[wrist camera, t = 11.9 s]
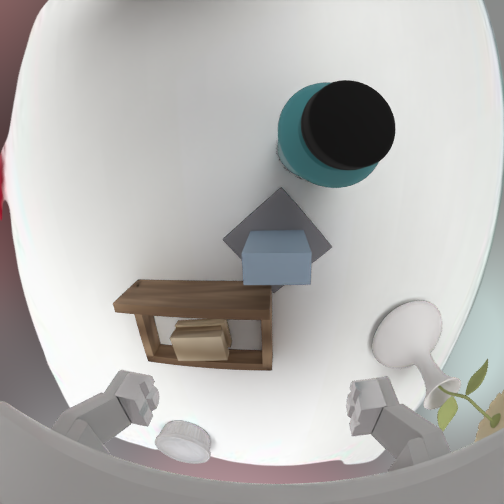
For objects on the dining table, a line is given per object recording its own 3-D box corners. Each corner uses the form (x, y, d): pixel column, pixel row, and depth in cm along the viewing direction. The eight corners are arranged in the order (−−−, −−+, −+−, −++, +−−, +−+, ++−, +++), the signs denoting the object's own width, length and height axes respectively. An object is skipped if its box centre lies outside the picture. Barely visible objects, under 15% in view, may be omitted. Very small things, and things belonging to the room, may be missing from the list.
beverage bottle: (271, 171, 30) (261, 188, 11) (281, 114, 27) (285, 36, 8) (329, 182, 29) (409, 219, 10) (338, 126, 27) (429, 79, 8)
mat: (281, 187, 30) (281, 187, 30) (331, 246, 32) (332, 247, 31) (223, 238, 32) (222, 239, 32) (273, 291, 34) (273, 293, 34)
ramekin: (221, 430, 45) (217, 450, 40) (206, 450, 48) (201, 468, 44) (167, 409, 44) (158, 429, 39) (158, 432, 48) (151, 450, 43)
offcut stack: (178, 319, 37) (167, 338, 33) (227, 317, 36) (220, 336, 32) (185, 342, 38) (176, 361, 34) (232, 340, 37) (227, 361, 33)
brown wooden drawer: (138, 279, 35) (112, 303, 29) (271, 280, 34) (269, 309, 27) (155, 349, 39) (137, 378, 33) (272, 356, 37) (270, 391, 31)
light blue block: (250, 230, 31) (241, 253, 24) (303, 229, 31) (311, 252, 23) (251, 255, 32) (243, 285, 25) (303, 255, 32) (310, 284, 24)
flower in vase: (400, 368, 37) (451, 497, 13) (353, 342, 36) (399, 504, 12) (455, 307, 33) (545, 420, 9) (414, 270, 31) (532, 404, 8)
